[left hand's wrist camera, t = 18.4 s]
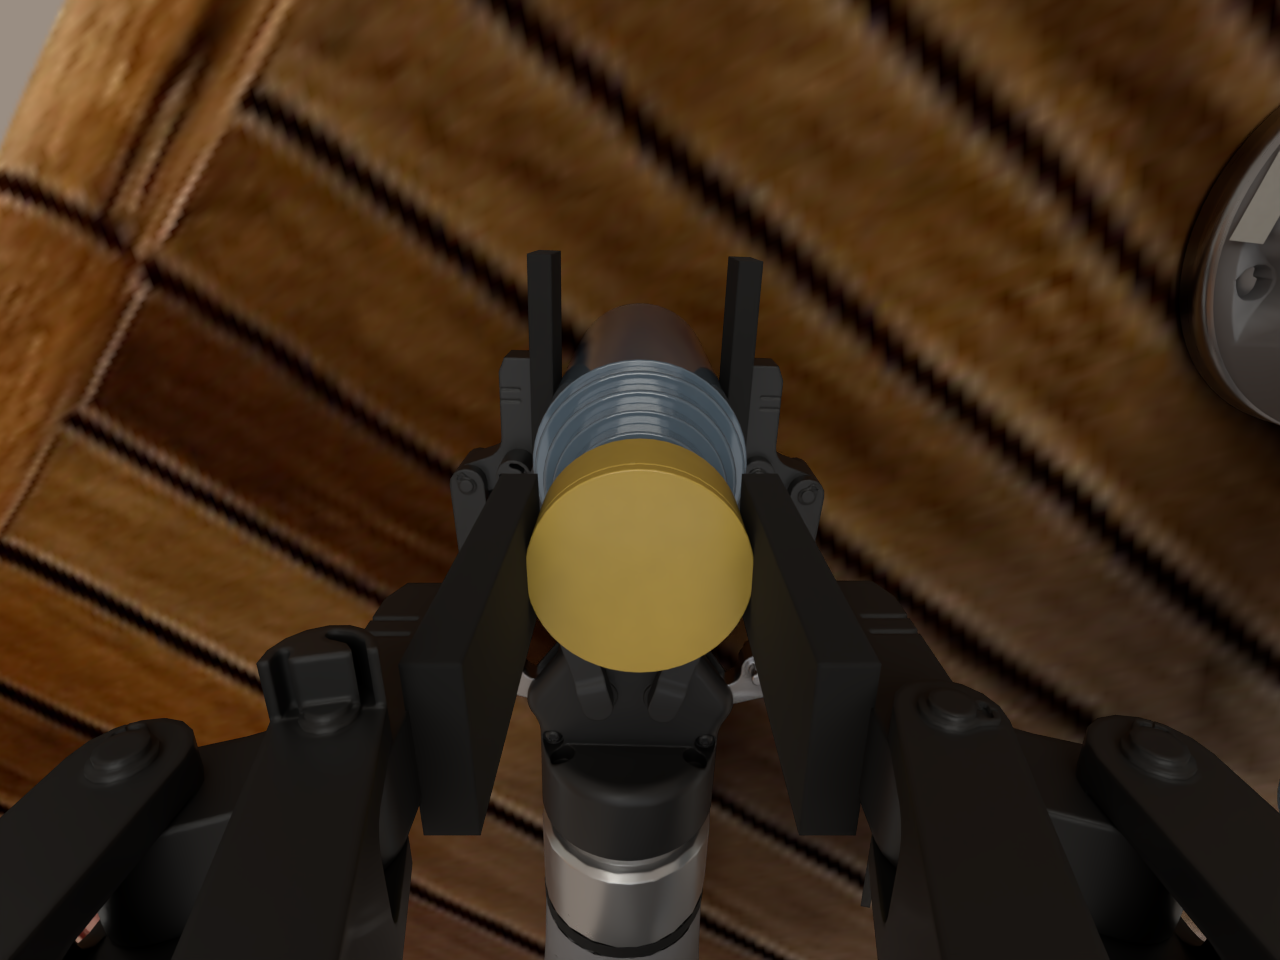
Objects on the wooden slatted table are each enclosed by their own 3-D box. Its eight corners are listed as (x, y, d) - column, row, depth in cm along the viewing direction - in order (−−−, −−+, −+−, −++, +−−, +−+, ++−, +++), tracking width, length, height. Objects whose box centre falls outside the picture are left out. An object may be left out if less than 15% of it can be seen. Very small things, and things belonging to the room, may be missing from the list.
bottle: (613, 277, 29) (574, 361, 12) (730, 345, 30) (849, 510, 13) (552, 395, 31) (442, 613, 14) (664, 454, 32) (692, 726, 15)
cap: (588, 646, 16) (582, 700, 14) (503, 483, 14) (483, 520, 12) (768, 582, 15) (785, 630, 13) (698, 405, 14) (707, 432, 12)
